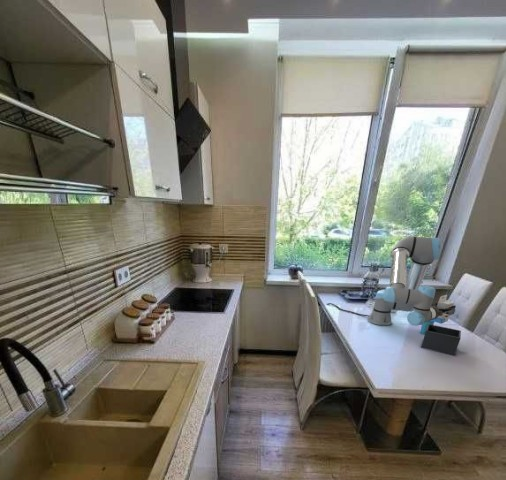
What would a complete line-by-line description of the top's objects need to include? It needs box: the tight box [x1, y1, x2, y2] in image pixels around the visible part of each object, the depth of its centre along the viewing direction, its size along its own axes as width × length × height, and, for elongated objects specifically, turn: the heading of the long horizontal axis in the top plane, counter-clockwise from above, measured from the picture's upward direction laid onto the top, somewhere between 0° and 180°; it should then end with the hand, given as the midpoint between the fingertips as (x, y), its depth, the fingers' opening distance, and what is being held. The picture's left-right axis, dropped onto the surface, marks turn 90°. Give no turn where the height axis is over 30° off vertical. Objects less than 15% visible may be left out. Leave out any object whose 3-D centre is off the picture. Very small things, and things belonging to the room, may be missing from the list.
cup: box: [420, 320, 435, 336], centre depth 179 cm, size 14×8×15 cm, turn 84°
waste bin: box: [420, 324, 462, 356], centre depth 161 cm, size 17×13×11 cm
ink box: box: [433, 294, 455, 324], centre depth 155 cm, size 8×5×15 cm, turn 123°
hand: (448, 306), depth 158 cm, fingers closed on ink box, 5 cm apart
